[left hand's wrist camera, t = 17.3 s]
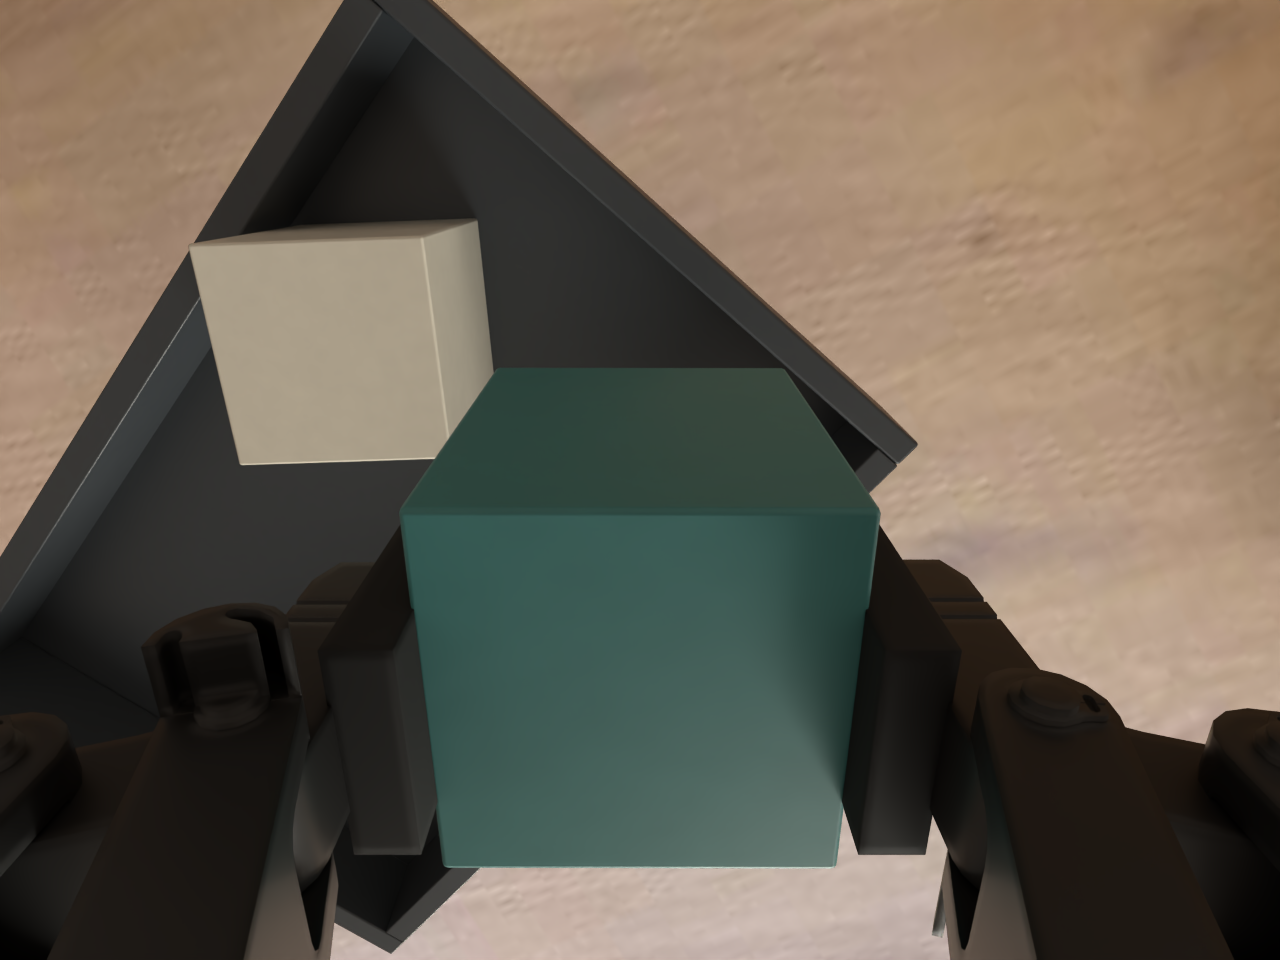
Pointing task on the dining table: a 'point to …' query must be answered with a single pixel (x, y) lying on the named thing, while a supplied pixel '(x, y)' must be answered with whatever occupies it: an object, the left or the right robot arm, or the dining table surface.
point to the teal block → (639, 621)
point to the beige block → (346, 337)
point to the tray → (364, 490)
